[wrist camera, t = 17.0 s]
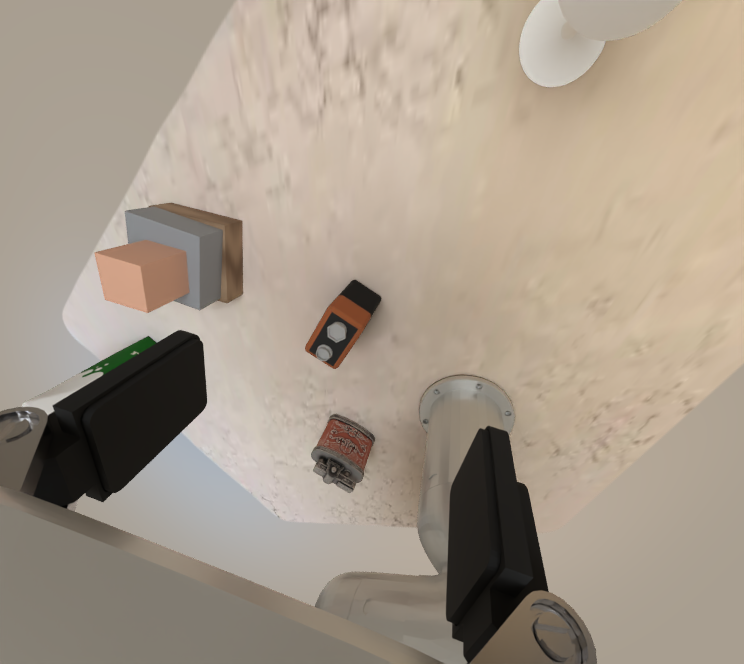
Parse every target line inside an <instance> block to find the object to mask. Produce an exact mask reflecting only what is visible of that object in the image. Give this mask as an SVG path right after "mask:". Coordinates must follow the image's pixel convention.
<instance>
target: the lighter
mask: <svg viewBox="0 0 744 664" xmlns="http://www.w3.org/2000/svg"><path fill="white" fill-rule="evenodd" d="M374 441H375V437H374V436H373V434H371V433H370V432H369V431H368V430H366V429H365V428H363V427H362V426H360V425H359V424H357V423H356V422H354V421H352V420H350V419H348V418H345V417H343V416H340V415H338V414H333V415H331V416H330V418H329V420H328V424H327V426H326V428H325V430H324V432H323V434H322V436H321V438H320V440H319V442H318V444H317V446H316V447H315V448H314V449H313V451H312V454H311V457H312V459H313V460H314V461H316V462H317V463H316V465H315V467H314V469H313V471H314V472H315V473H316V474H318V475H320V476H322V477H323V481H324V482H325V483H327V484H330V483H334V484H336V486H338V487H340V488H341V489H343V490H345V491H347V492H348V493H351V492H353V491H354V488H355V485H356V483H359V482H361V481H362V479H363V476H364V469H365V465H366V462H367V459H368V456H369V453H370V450H371V447H372V446H373V444H374Z"/></svg>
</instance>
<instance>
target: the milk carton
mask: <svg viewBox="0 0 744 664" xmlns="http://www.w3.org/2000/svg"><path fill="white" fill-rule="evenodd" d="M154 344H156V342H155V341H153V340H152V339H151V338H150V337H149V336H148V337H146V338H144V339H142V340H140V341H138V342H136V343H134V344H132V345H131V346H129V347H127V348H125V349H123V350H121V351H119V352H117V353H115V354H113V355H112V356H110V357H108V358H106V359H104V360H102V361H100V362H99V363H97V364H95V365H93V366H91V367H90V368H88V369H86V370H84V371H82V372H81V373H79V374H77V375H76V376H73V377H72V378H70V379H68V380H66V381H64V382H63V383H61V384H59V385H57V386H56V387H54V388H52V389H50V390H48V391H46V392H44V393H42V394H40V395H38V396H36V397H35V398H32V399H30V400H28V401H26V402H24V403H23V405H22V407H36V408H40V409H42V410H44V411H45V412H46V414H47V415H49V414H50V413H52V412H54V409H53V406H52V405H54V404H56V403H57V402H59V401H61V400H62V399H64V398H66V397H67V396H69V395H71V394H72V393H74V392H76V391H77V390H79V389H81V388H82V387H84V386H86V385H87V384H89V383H91V382H92V381H94V380H96V379H97V378H99V377H101V376H102V375H104V374H106V373H107V372H109V371H111V370H112V369H114V368H116V367H117V366H119V365H121V364H122V363H124V362H126V361H128V360H129V359H131V358H133V357H134V356H136V355H138V354H139V353H141V352H143V351H144V350H146V349H148V348H149V347H151V346H153V345H154Z"/></svg>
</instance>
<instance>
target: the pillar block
mask: <svg viewBox="0 0 744 664" xmlns="http://www.w3.org/2000/svg"><path fill="white" fill-rule="evenodd" d="M95 257H96V262H97V266H98V271H99V275H100V280H101V284H102V288H103V293H104V297H105V300H108V301H111V302H114V303H117V304H121V305H124V306H127V307H130V308H133V309H137V310H140V311H143V312H146V313H149V312H151V311H153V310H155V309H157V308H159V307H161V306H163V305H165V304H167V303H169V302H171V301H173V300H175V299H177V298H179V297H182V296H184V295H186V294H188V293H190V292H189V280H188V268H187V256H186V251H184V250H181V249H177V248H173V247H170V246H166V245H163V244H159V243H156V242H152V241H149V240H143V241H139V242H135V243H131V244H127V245H123V246H119V247H115V248H111V249H107V250H103V251H99V252H95Z"/></svg>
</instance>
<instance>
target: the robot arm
mask: <svg viewBox="0 0 744 664" xmlns="http://www.w3.org/2000/svg"><path fill="white" fill-rule="evenodd" d="M206 404H207V392H206V379H205V365H204V351H203V343H202V341H200V338H199V337H198V336H197V335H195V334H192V333H189V332H186V331H182V330H179V331H176V332H174V333H173V334H171V335H169V336H168V337H166V338H164V339H163V340H161V341H159V342H158V343H156V344H154V345H153V346H151V347H149V348H148V349H146V350H144V351H143V352H141V353H139V354H138V355H136V356H134V357H133V358H131V359H129V360H128V361H126V362H124V363H122V364H121V365H119V366H117V367H116V368H114V369H112V370H111V371H109V372H107V373H106V374H104V375H102V376H101V377H99V378H97V379H96V380H94V381H92V382H91V383H89V384H87V385H86V386H84V387H82V388H81V389H79V390H77V391H76V392H74V393H72V394H71V395H69V396H67V397H66V398H64V399H62V400H61V401H59V402H57V403H56V404H54V405H52V406H53V409H54V412H52V413H50V414H49V415H47V414H46V412H45V411H44V410H42V409H40V408H36V407H17V408H12V409H7V410H4V411H1V412H0V664H597V659H596V649H595V646H594V643H593V640H592V637H591V635H590V633H589V631H588V629H587V627H586V625H585V624H584V622H583V620H582V619H581V618H580V617H579V615H578V614H577V613H576V612H575V610H574V609H573V608H572V607H571V606H570V605H568V604H567V603H566V602H565V601H564V600H563V599H561V598H560V597H557V596H556V595H554V594H553V593H550V592H549V591H548V586H547V581H546V576H545V571H544V567H543V562H542V557H541V552H540V547H539V542H538V537H537V532H536V527H535V522H534V517H533V512H532V507H531V502H530V497H529V493H528V489H527V487H526V486H525V484H522V483H519V482H517V480H516V474H515V469H514V463H513V457H512V451H511V445H510V440H509V434H510V433H511V431H512V429H513V426H514V421H515V415H514V409H513V406H512V403H511V401H510V399H509V397H508V396H507V394H506V393H505V392H504V391H503V390H502V389H501V388H499V387H498V386H497V385H495V384H494V383H492V382H490V381H488V380H485V379H482V378H479V377H474V376H462V375H459V376H452V377H448V378H445V379H442V380H440V381H438V382H436V383H434V384H433V385H432V386H431V387H429V388H428V389H427V391H426V392H425V393H424V395H423V397H422V399H421V402H420V407H419V417H420V421H421V424H422V426H423V428H424V429H425V431H426V432H427V441H426V449H425V457H424V465H423V473H422V481H421V489H420V497H419V505H418V514H417V527H418V534H419V538H420V541H421V543H422V546H423V548H424V550H425V552H426V554H427V556H428V558H429V559H430V561H431V563H432V564H433V566H434V567H435V569H436V570H437V572H438V573H439V574H438V575H435V576H426V575H419V576H413V575H400V574H389V573H377V572H348V573H343V574H340V575H338V576H336V577H335V578H333V579H332V580H331V581H330V582H329V583H327V585H326V586H325V588H324V589H323V590H322V592H321V593H320V595H319V598H318V600H317V602H316V604H315V607H314V606H311V605H309V604H306V603H304V602H301V601H299V600H296V599H294V598H291V597H289V596H286V595H284V594H282V593H279V592H277V591H274V590H272V589H269V588H267V587H264V586H262V585H259V584H256V583H254V582H252V581H249V580H247V579H244V578H242V577H239V576H237V575H234V574H232V573H229V572H227V571H224V570H221V569H219V568H217V567H214V566H211V565H209V564H206V563H204V562H201V561H199V560H196V559H194V558H191V557H189V556H186V555H183V554H181V553H179V552H176V551H174V550H171V549H168V548H166V547H163V546H161V545H159V544H156V543H153V542H151V541H148V540H146V539H143V538H141V537H138V536H135V535H133V534H130V533H128V532H125V531H123V530H120V529H118V528H115V527H113V526H110V525H107V524H105V523H102V522H100V521H97V520H94V519H92V518H89V517H87V516H84V515H82V514H79V513H77V512H75V509H76V504H77V500H78V499H79V498H80V497H81V496H82V495H83V494H84V493H86V496H88V497H91V498H94V499H96V500H98V501H101V502H104V501H105V500H106V499H107V498H108V497H109V496H110V495H111V494H112V493H116V492H118V491H120V490H121V489H122V488H124V487H125V486H126V485H127V484H128V483H129V481H131V480H132V479H133V478H134V477H135V476H136V475H137V474H138V473H139V472H140V471H141V470H142V469H143V468H144V467H145V466H146V465H147V464H148V463H149V462H150V461H152V459H154V457H156V456H157V455H158V454H159V453H160V452H161V451H162V450H163V449H164V448H165V447H166V446H167V445H168V444H169V443H170V442H171V441H172V440H173V439H174V438H175V437H176V436H177V435H178V434H179V433H180V432H182V431H183V430H184V429H185V428H186V427H187V426H188V425H189V424H190V423H191V422H192V421H193V420H194V419H195V418H196V417H197V416H198V415H199V414H200V413H201V412H202V411H203V410H204V408H205V407H206Z"/></svg>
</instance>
